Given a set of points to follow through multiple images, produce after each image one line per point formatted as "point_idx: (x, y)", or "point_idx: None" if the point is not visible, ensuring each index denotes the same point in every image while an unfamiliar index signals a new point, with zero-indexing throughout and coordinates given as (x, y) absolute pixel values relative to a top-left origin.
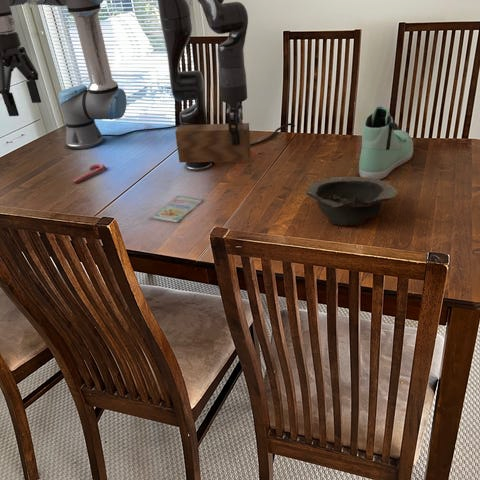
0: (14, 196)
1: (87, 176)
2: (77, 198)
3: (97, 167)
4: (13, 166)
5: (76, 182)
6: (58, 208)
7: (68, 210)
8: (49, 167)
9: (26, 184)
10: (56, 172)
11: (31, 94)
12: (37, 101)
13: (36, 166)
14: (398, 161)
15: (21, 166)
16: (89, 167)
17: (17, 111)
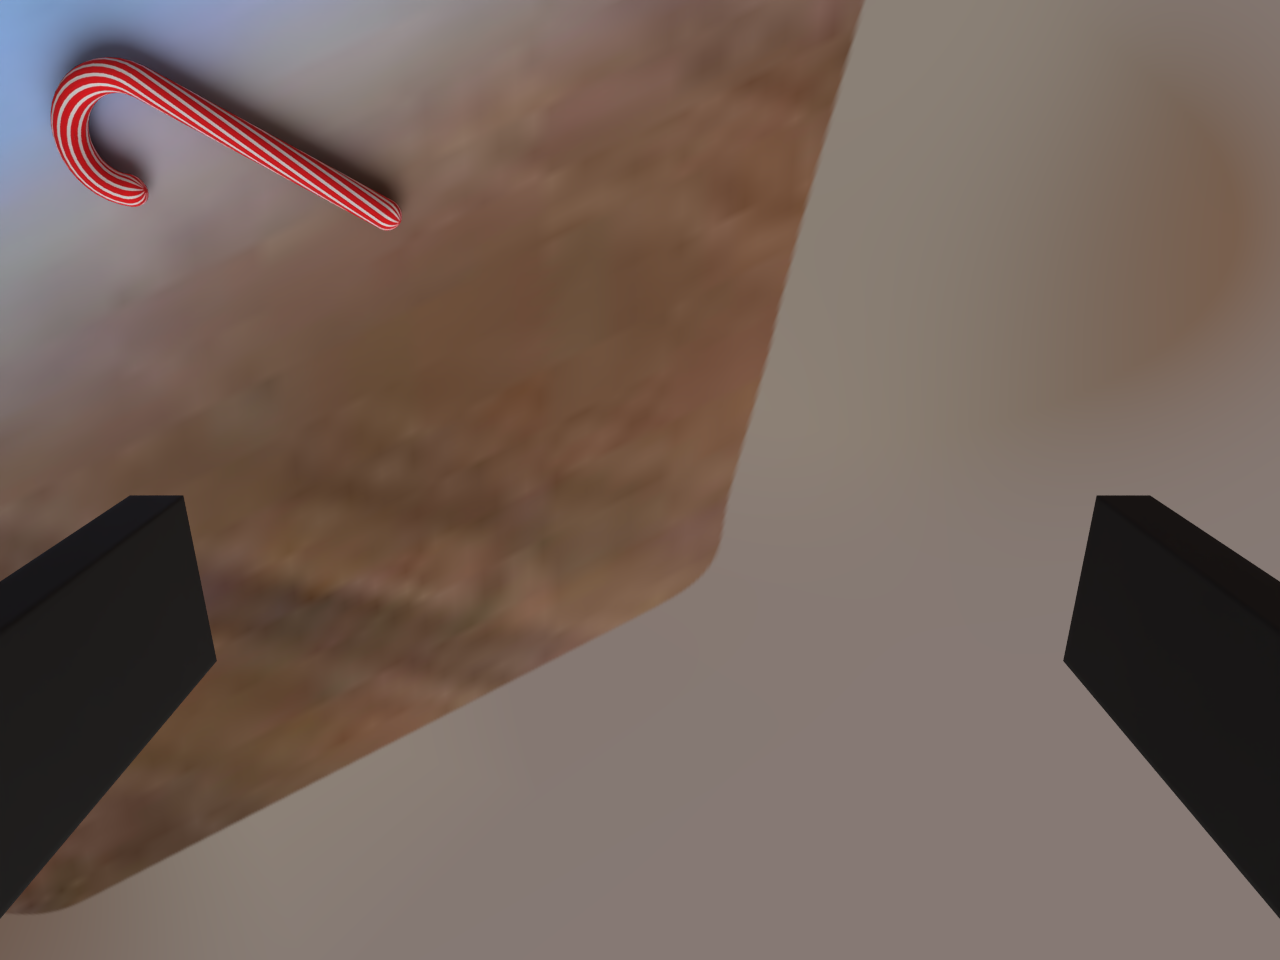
0: (614, 567)
1: (294, 148)
2: (651, 81)
3: (92, 145)
4: (173, 798)
5: (398, 206)
6: (806, 164)
7: (844, 65)
8: None
9: (436, 579)
10: (222, 465)
11: (111, 735)
12: (180, 558)
13: None
14: None
15: (164, 750)
16: (136, 197)
17: (1157, 529)
